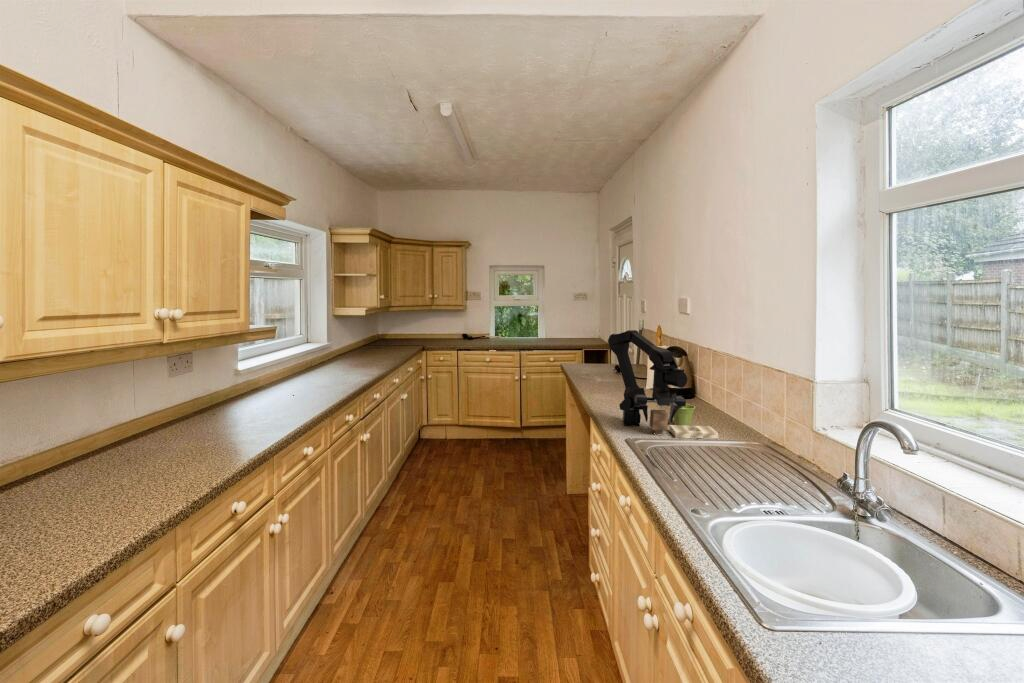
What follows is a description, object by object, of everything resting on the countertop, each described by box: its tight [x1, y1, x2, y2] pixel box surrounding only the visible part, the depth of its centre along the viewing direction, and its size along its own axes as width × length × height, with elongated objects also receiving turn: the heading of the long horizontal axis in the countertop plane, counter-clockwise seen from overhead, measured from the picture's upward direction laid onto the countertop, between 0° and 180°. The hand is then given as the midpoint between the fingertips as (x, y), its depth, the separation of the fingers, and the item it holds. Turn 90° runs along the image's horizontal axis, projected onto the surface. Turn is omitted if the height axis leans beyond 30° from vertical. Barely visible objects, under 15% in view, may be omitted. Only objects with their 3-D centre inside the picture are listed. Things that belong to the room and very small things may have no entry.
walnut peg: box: [649, 409, 669, 435], centre depth 197 cm, size 6×6×9 cm
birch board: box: [668, 424, 719, 439], centre depth 196 cm, size 16×10×2 cm, turn 87°
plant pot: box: [673, 403, 696, 426], centre depth 208 cm, size 9×9×9 cm
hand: (658, 421), depth 197 cm, fingers open, 9 cm apart
